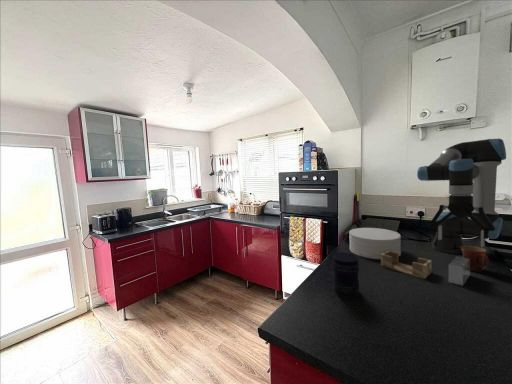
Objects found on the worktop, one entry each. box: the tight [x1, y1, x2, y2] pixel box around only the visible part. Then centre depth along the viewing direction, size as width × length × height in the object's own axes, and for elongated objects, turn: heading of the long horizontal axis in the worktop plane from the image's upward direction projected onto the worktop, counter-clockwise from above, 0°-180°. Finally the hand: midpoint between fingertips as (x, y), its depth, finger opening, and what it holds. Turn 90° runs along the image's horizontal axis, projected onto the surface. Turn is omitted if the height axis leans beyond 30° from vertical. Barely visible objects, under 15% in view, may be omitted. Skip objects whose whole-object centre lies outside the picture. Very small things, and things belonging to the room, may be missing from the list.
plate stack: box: [348, 227, 402, 260], centre depth 132 cm, size 28×28×12 cm
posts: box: [380, 251, 433, 280], centre depth 106 cm, size 10×19×6 cm, turn 36°
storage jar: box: [332, 252, 360, 298], centre depth 88 cm, size 10×10×15 cm
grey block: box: [448, 255, 471, 287], centre depth 94 cm, size 4×14×8 cm, turn 126°
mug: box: [461, 245, 489, 273], centre depth 100 cm, size 12×9×10 cm
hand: (460, 242), depth 93 cm, fingers open, 13 cm apart
